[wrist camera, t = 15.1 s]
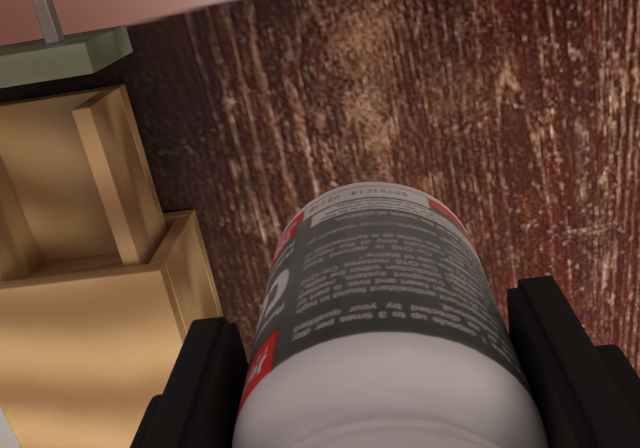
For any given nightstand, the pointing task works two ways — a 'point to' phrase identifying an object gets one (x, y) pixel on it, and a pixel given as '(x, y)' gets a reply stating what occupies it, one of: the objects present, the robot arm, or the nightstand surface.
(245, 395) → the pill bottle
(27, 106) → the drawer
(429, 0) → the nightstand surface
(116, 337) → the cabinet
